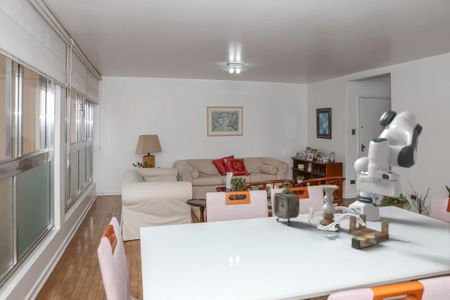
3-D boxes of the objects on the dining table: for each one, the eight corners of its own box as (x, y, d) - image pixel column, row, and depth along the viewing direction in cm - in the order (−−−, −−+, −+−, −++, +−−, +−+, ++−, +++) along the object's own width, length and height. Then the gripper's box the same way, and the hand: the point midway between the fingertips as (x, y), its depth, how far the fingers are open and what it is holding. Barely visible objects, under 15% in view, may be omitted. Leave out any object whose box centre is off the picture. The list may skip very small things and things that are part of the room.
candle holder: (316, 229, 181) (317, 186, 180) (320, 224, 191) (321, 183, 190) (336, 232, 176) (337, 188, 175) (339, 227, 186) (341, 185, 185)
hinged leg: (372, 241, 161) (372, 233, 160) (379, 243, 157) (379, 235, 157) (351, 246, 153) (351, 238, 153) (358, 249, 150) (358, 240, 149)
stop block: (352, 244, 157) (352, 237, 157) (359, 242, 159) (359, 235, 159) (356, 246, 155) (357, 238, 154) (363, 244, 157) (363, 237, 157)
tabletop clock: (273, 220, 199) (273, 179, 197) (285, 219, 202) (286, 178, 201) (287, 226, 186) (288, 183, 184) (300, 225, 189) (301, 182, 188)
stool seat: (348, 233, 174) (348, 216, 174) (361, 230, 180) (362, 213, 179) (375, 242, 161) (376, 223, 160) (389, 238, 166) (389, 220, 166)
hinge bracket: (367, 242, 161) (368, 232, 160) (372, 241, 162) (372, 231, 162) (374, 244, 157) (375, 234, 157) (378, 243, 159) (379, 233, 159)
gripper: (354, 171, 156) (353, 200, 157) (395, 176, 139) (393, 209, 140) (362, 170, 160) (361, 199, 160) (403, 176, 142) (402, 207, 143)
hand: (376, 203), depth 150 cm, fingers closed
